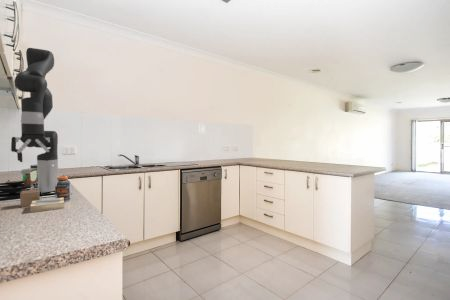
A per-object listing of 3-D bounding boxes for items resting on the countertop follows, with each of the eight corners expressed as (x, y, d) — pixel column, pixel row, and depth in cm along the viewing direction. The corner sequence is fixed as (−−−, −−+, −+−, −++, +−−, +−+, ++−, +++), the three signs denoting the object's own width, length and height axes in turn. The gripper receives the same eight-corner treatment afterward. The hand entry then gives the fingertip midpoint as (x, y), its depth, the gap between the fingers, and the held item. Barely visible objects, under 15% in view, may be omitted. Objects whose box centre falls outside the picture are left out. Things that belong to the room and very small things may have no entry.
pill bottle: (55, 202, 108) (54, 177, 108) (55, 200, 113) (54, 176, 113) (71, 200, 112) (70, 176, 111) (70, 198, 117) (69, 175, 116)
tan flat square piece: (32, 206, 102) (32, 200, 102) (63, 202, 108) (63, 197, 108) (30, 212, 94) (30, 205, 94) (64, 208, 100) (64, 201, 100)
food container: (26, 183, 155) (25, 168, 155) (37, 183, 158) (37, 167, 157) (17, 187, 144) (17, 170, 143) (30, 186, 146) (29, 170, 146)
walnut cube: (22, 204, 106) (22, 190, 105) (39, 202, 109) (39, 189, 109) (20, 207, 101) (20, 193, 101) (38, 205, 104) (38, 191, 104)
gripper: (53, 124, 109) (54, 159, 110) (11, 122, 101) (13, 161, 101) (53, 123, 103) (54, 161, 104) (9, 122, 94) (10, 163, 95)
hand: (34, 161), depth 103 cm, fingers open, 8 cm apart
